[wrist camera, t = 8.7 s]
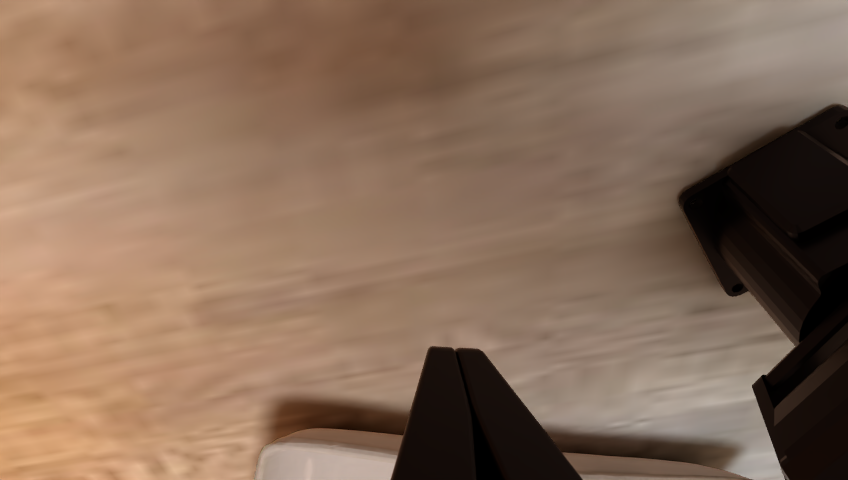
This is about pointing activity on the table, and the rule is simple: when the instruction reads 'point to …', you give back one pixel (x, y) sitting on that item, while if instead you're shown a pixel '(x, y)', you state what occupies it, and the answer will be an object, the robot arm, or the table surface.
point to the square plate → (377, 452)
